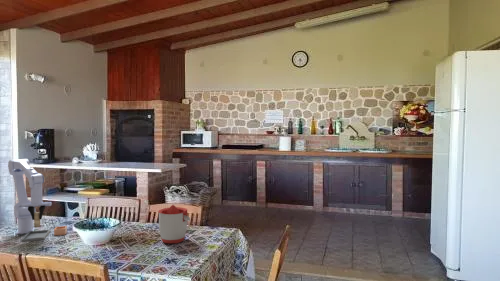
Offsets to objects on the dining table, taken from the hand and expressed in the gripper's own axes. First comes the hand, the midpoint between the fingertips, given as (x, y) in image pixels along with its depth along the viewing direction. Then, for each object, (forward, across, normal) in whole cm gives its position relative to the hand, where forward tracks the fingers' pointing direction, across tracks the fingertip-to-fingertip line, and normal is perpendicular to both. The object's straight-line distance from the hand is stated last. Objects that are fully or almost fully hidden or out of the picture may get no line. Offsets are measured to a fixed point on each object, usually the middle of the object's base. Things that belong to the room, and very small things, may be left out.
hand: (37, 219), depth 205 cm
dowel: (+4, 0, 0) cm, 4 cm away
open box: (+10, +12, +2) cm, 16 cm away
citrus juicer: (+10, +73, -31) cm, 80 cm away
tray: (+10, 0, 0) cm, 10 cm away
